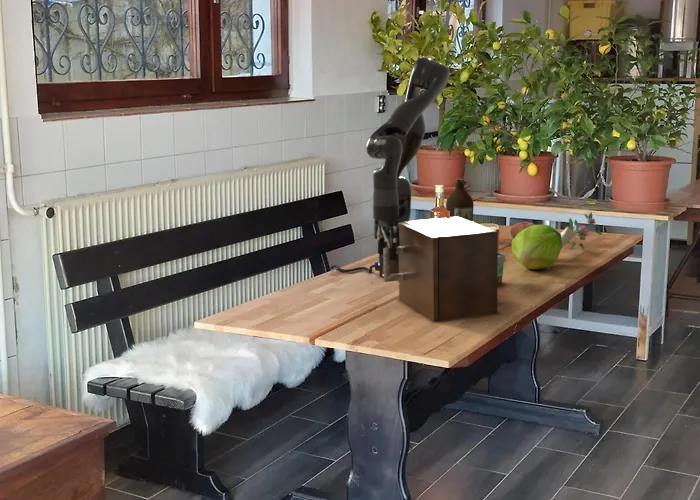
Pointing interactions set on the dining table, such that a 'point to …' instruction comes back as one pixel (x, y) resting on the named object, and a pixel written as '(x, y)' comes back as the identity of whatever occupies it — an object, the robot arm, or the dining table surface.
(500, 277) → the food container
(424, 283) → the door
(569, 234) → the flower vase
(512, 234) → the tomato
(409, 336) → the dining table surface
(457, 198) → the olive oil
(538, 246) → the lettuce
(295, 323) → the dining table surface
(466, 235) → the cupboard
